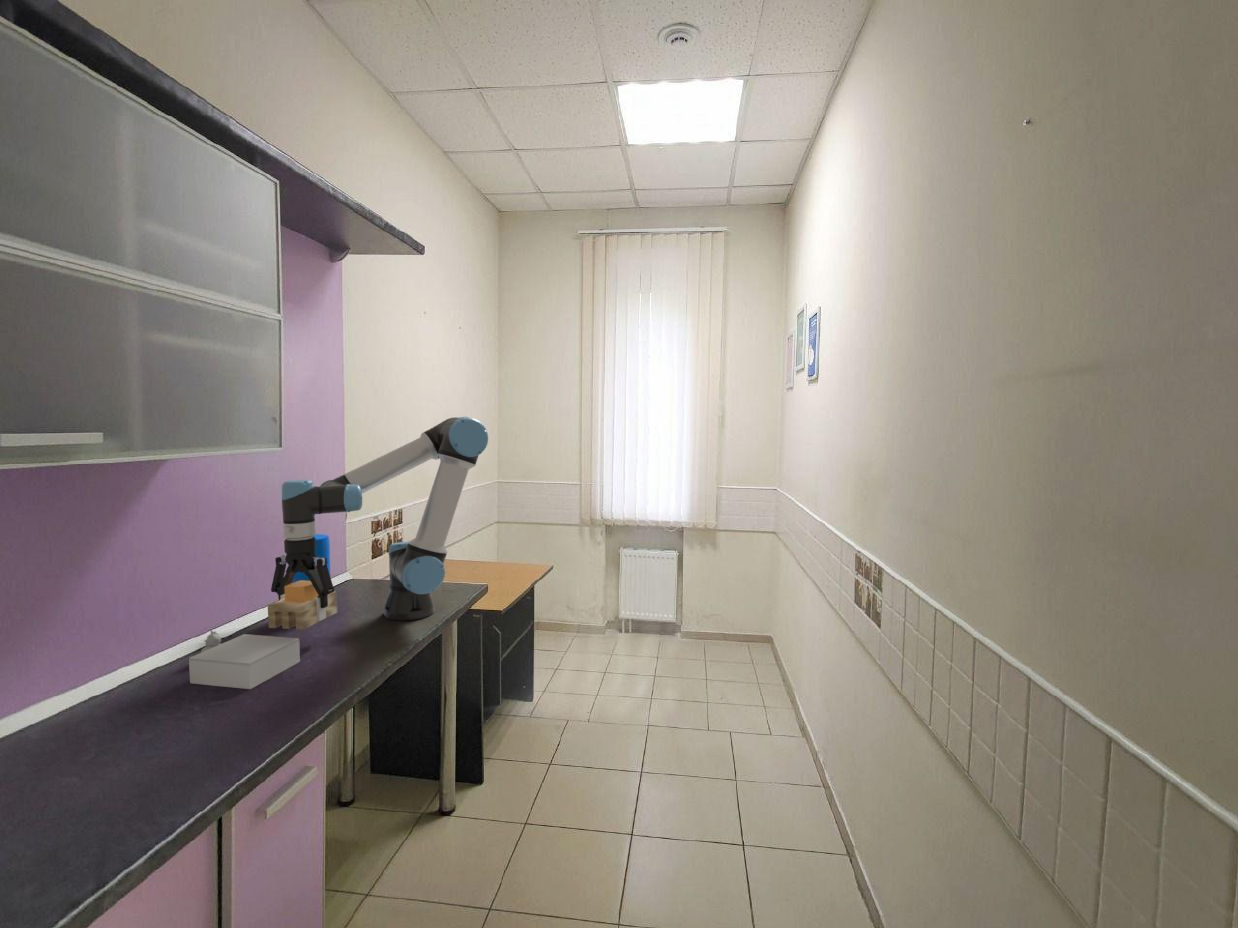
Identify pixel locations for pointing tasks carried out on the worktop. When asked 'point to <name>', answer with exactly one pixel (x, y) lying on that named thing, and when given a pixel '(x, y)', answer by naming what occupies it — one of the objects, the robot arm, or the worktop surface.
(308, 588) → the orange square block
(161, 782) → the worktop surface
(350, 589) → the worktop surface
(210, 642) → the white lumpy piece
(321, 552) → the thermos
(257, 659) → the dock
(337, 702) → the worktop surface
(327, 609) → the pallet
